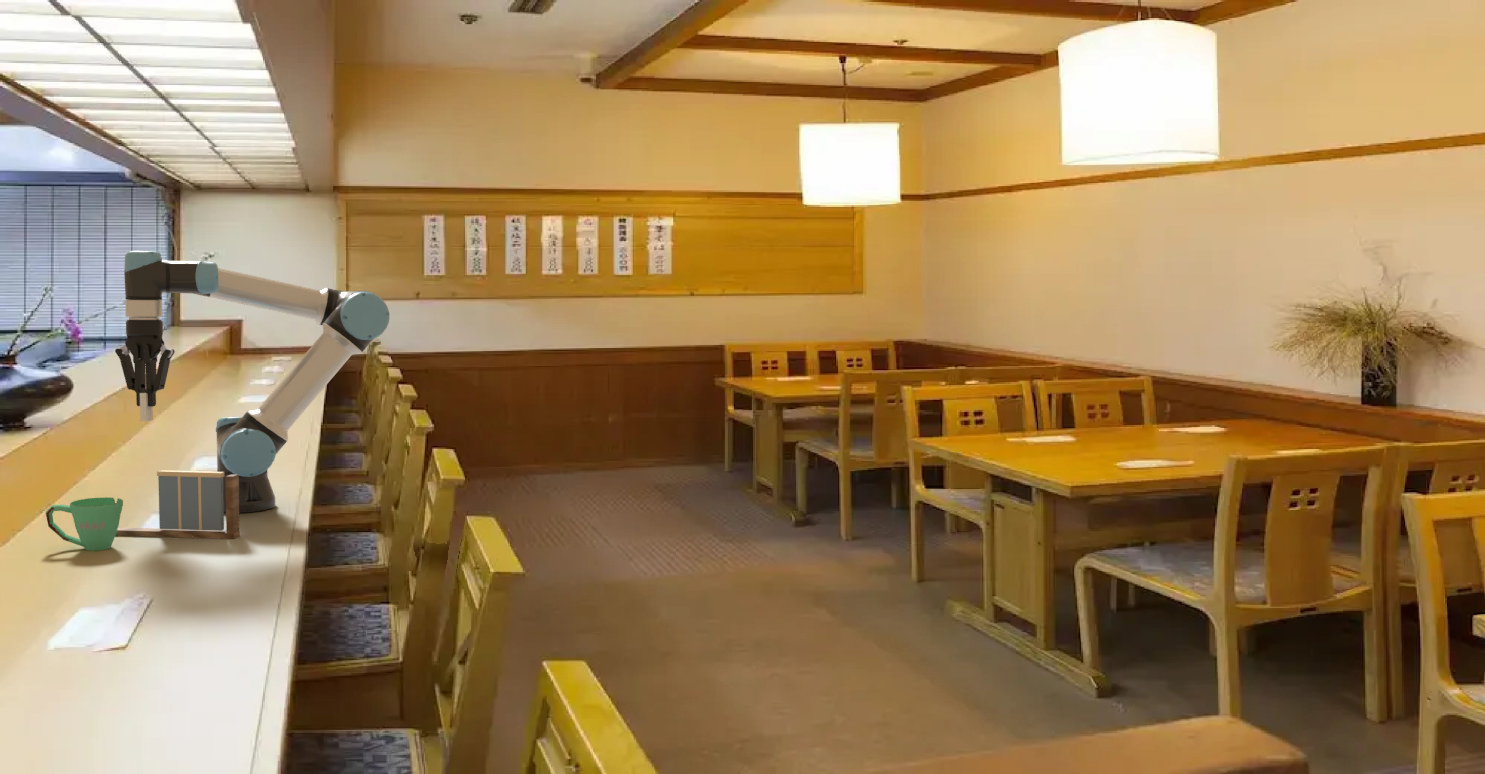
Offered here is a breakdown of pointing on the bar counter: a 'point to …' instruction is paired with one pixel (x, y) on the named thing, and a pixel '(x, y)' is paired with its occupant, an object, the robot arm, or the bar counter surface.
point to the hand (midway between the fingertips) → (146, 420)
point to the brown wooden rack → (229, 533)
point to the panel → (191, 500)
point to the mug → (90, 521)
